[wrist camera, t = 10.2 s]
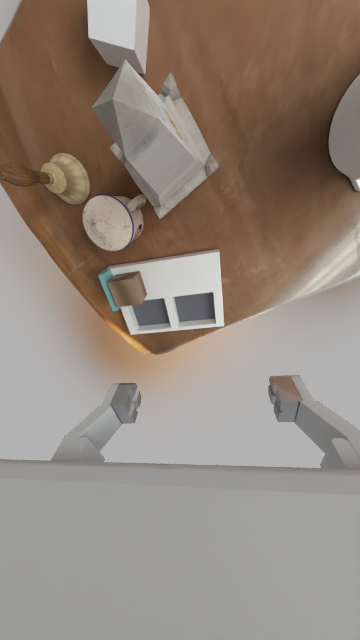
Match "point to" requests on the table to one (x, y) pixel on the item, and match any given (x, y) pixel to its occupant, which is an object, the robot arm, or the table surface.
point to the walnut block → (127, 289)
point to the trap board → (173, 292)
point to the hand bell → (53, 177)
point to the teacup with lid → (113, 220)
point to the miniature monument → (154, 138)
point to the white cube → (120, 31)
